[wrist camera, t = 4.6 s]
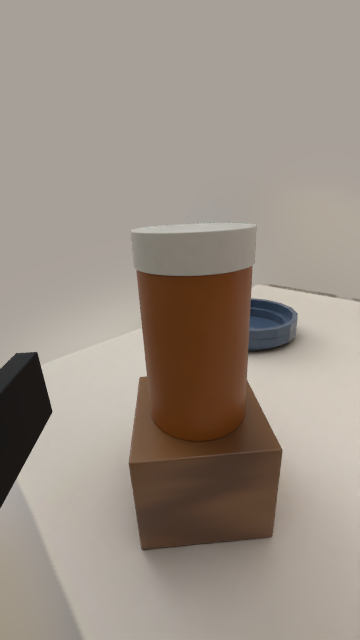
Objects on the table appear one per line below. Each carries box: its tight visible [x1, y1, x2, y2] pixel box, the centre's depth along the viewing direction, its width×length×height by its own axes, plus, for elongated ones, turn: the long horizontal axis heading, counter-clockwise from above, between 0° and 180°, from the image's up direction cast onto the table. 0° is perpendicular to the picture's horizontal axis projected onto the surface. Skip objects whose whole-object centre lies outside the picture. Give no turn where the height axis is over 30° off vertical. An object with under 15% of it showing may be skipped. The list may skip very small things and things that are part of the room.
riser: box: [129, 377, 282, 549], centre depth 19 cm, size 8×8×7 cm
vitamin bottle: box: [131, 223, 257, 441], centre depth 16 cm, size 6×6×11 cm
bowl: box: [248, 298, 297, 350], centre depth 45 cm, size 14×15×4 cm
